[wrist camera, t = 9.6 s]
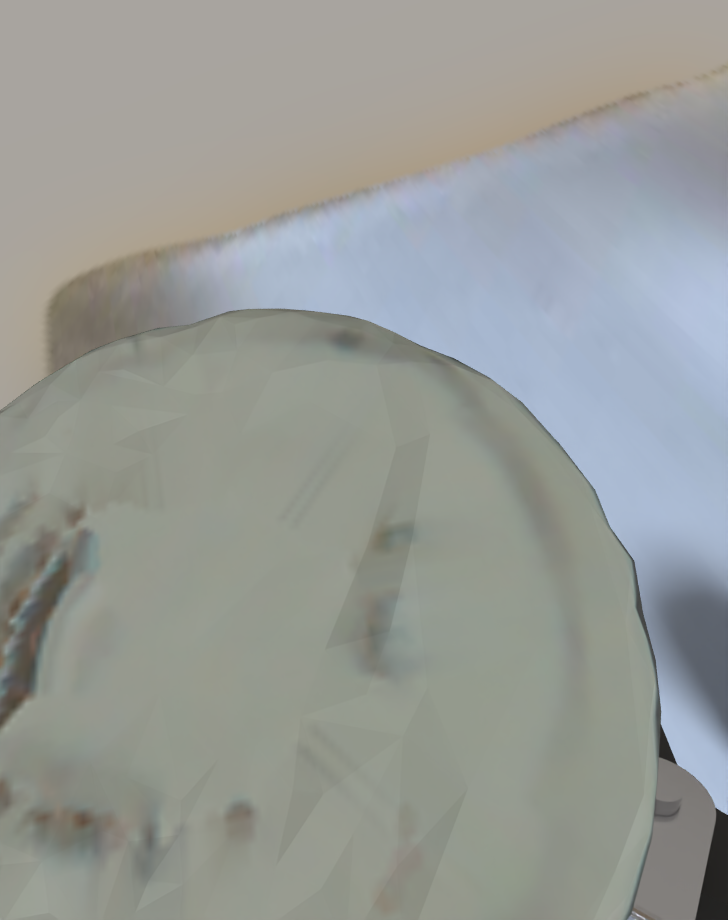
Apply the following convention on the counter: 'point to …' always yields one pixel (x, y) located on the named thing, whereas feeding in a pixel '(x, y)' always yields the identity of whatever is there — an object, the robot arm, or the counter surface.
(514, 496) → the sauce bottle
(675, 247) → the counter surface
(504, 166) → the counter surface
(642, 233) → the counter surface
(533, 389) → the counter surface
